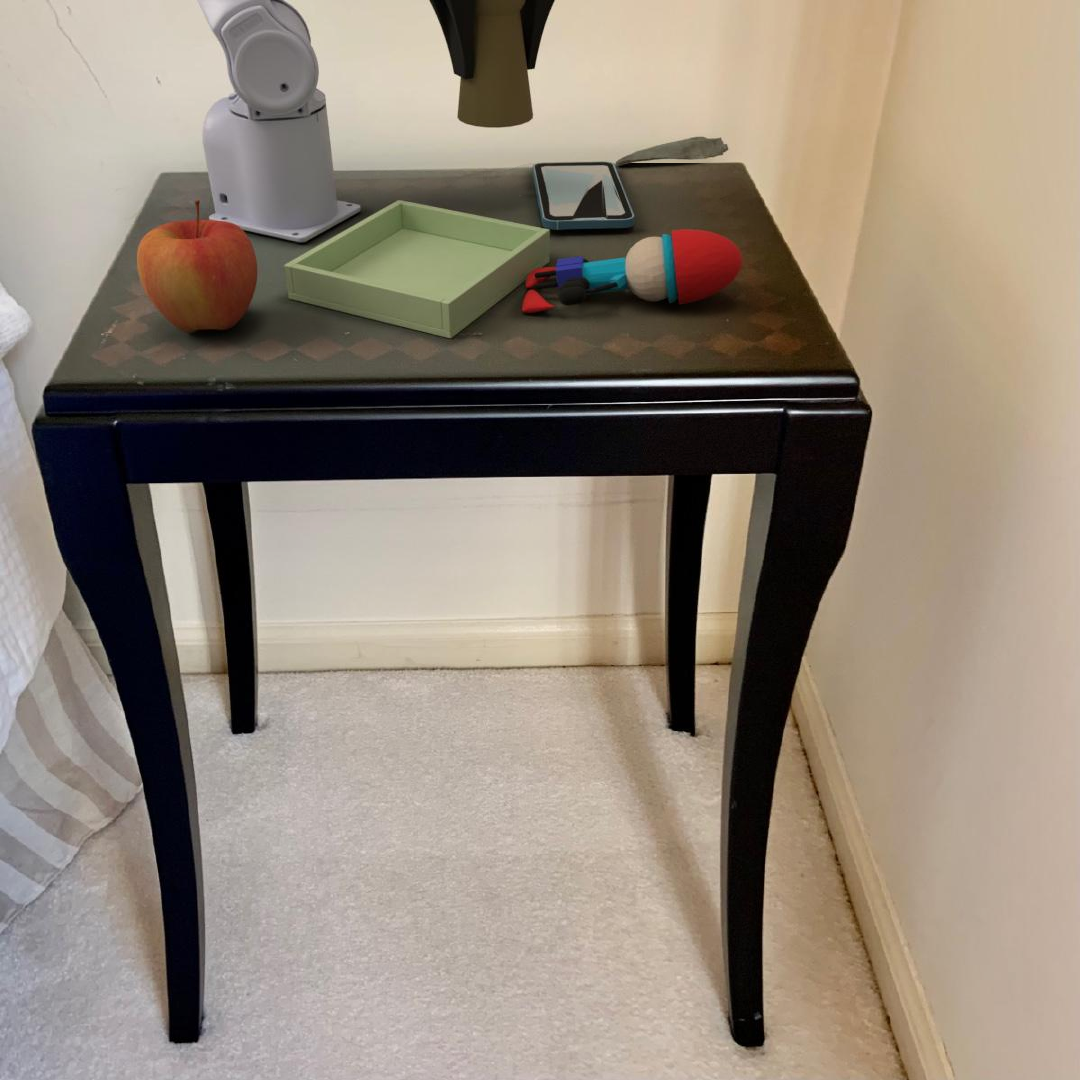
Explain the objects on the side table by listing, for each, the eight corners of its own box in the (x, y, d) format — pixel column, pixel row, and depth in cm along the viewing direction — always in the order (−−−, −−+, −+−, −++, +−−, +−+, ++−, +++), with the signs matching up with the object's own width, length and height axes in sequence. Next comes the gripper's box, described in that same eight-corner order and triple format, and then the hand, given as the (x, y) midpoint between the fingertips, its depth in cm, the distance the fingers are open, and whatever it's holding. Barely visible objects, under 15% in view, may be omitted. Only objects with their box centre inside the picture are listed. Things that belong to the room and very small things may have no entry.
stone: (623, 159, 96) (602, 140, 100) (623, 177, 97) (602, 157, 101) (736, 142, 99) (712, 124, 103) (735, 159, 100) (710, 140, 104)
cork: (498, 100, 90) (495, -49, 84) (549, 116, 87) (550, -38, 80) (441, 115, 87) (433, -39, 80) (491, 132, 83) (487, -28, 77)
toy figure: (525, 340, 74) (748, 312, 72) (512, 270, 72) (743, 238, 69) (534, 301, 81) (740, 274, 78) (523, 235, 78) (735, 205, 76)
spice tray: (288, 298, 76) (283, 264, 75) (401, 230, 86) (398, 199, 85) (450, 339, 71) (448, 303, 70) (549, 261, 81) (550, 229, 80)
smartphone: (614, 161, 97) (637, 219, 85) (613, 172, 98) (636, 231, 85) (531, 162, 97) (542, 221, 85) (531, 173, 97) (542, 233, 85)
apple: (136, 350, 70) (106, 229, 65) (174, 301, 76) (149, 187, 71) (248, 354, 70) (227, 232, 65) (278, 304, 75) (261, 189, 71)
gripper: (419, -122, 71) (431, 96, 79) (607, -134, 77) (600, 70, 85) (376, -133, 76) (392, 74, 84) (556, -144, 82) (554, 51, 90)
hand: (494, 71), depth 85 cm, fingers closed on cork, 5 cm apart
